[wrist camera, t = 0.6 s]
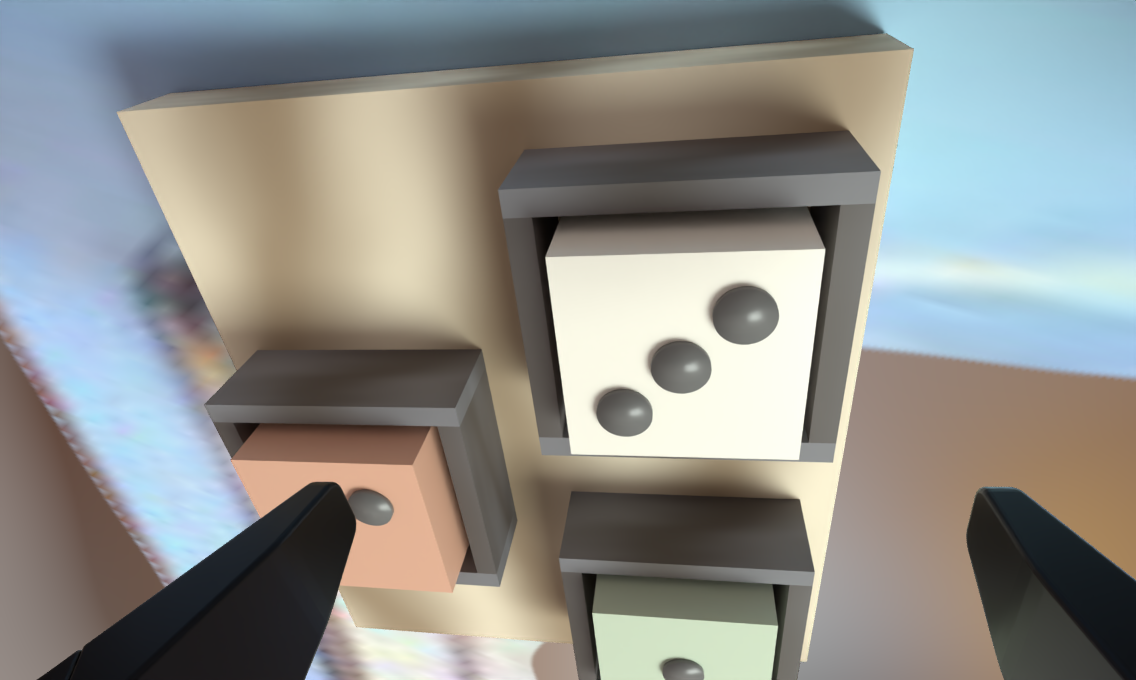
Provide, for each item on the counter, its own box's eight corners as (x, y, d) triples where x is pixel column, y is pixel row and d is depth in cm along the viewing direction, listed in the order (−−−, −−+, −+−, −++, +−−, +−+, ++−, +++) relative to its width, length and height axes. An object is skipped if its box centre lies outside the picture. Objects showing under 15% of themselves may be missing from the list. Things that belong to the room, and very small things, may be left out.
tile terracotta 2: (437, 413, 17) (410, 469, 16) (471, 537, 20) (451, 597, 18) (271, 410, 18) (226, 463, 16) (324, 529, 21) (291, 586, 19)
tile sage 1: (769, 563, 19) (778, 630, 17) (759, 660, 21) (766, 727, 20) (599, 554, 20) (591, 617, 18) (610, 648, 22) (604, 712, 21)
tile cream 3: (806, 206, 13) (826, 252, 11) (785, 401, 16) (799, 464, 14) (561, 216, 14) (543, 261, 12) (582, 399, 16) (570, 458, 15)
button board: (886, 33, 14) (962, 76, 10) (798, 613, 25) (819, 735, 22) (170, 93, 17) (26, 143, 13) (374, 585, 29) (327, 688, 25)
